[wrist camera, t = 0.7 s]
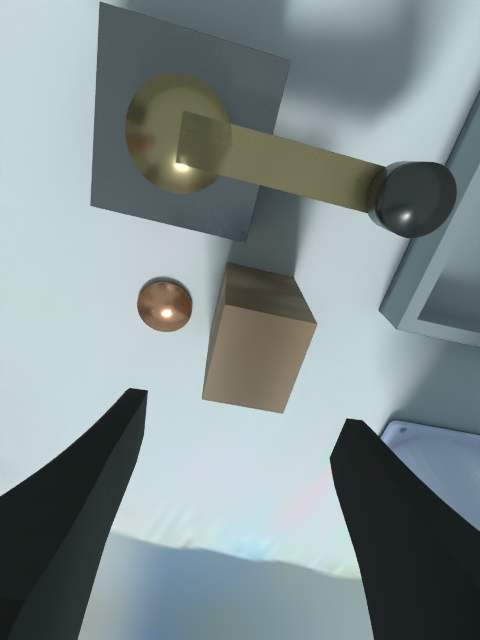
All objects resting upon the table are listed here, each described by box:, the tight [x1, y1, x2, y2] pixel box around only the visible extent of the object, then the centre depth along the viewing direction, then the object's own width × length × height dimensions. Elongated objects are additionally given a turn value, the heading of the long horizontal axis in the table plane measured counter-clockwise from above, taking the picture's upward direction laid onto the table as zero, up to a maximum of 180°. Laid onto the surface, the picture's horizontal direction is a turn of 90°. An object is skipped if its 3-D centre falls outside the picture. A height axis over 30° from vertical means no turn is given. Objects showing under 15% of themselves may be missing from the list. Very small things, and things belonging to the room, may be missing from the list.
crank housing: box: [91, 2, 291, 332], centre depth 16 cm, size 7×14×3 cm, turn 166°
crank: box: [125, 73, 457, 238], centre depth 13 cm, size 12×4×3 cm, turn 76°
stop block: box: [202, 263, 317, 413], centre depth 18 cm, size 4×5×6 cm
